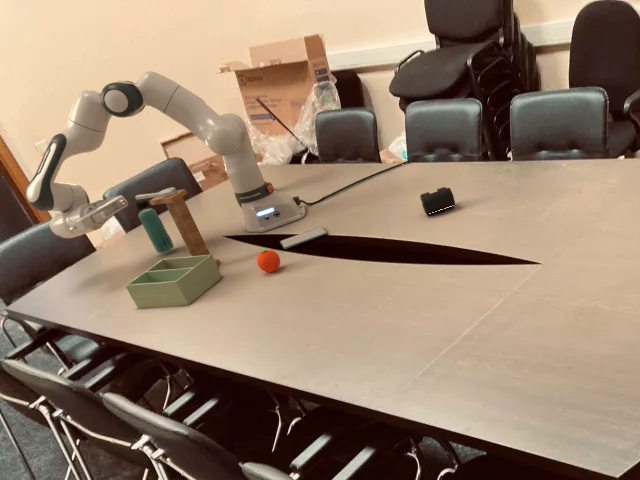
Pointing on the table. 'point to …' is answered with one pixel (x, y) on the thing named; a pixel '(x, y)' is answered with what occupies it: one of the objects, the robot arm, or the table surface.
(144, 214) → the beverage bottle
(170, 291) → the cutlery tray
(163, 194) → the spoon
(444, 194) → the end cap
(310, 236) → the smartphone
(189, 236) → the oak stand
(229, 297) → the table surface
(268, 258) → the clementine
